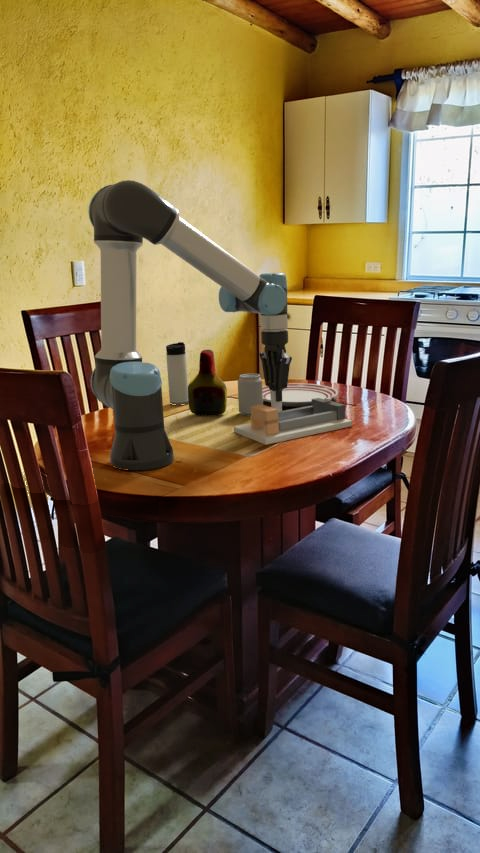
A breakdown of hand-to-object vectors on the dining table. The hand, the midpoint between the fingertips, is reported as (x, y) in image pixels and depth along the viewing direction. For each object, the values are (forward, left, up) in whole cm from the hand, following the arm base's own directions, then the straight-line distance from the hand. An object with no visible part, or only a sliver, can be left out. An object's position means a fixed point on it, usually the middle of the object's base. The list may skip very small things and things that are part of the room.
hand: (276, 411), depth 192 cm
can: (0, +13, -3) cm, 14 cm away
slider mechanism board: (-1, -10, -3) cm, 10 cm away
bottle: (-11, +20, -3) cm, 24 cm away
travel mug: (-11, +40, -3) cm, 42 cm away
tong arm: (0, -5, -1) cm, 5 cm away
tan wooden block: (-12, -12, -1) cm, 16 cm away
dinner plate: (+21, +19, -3) cm, 28 cm away
